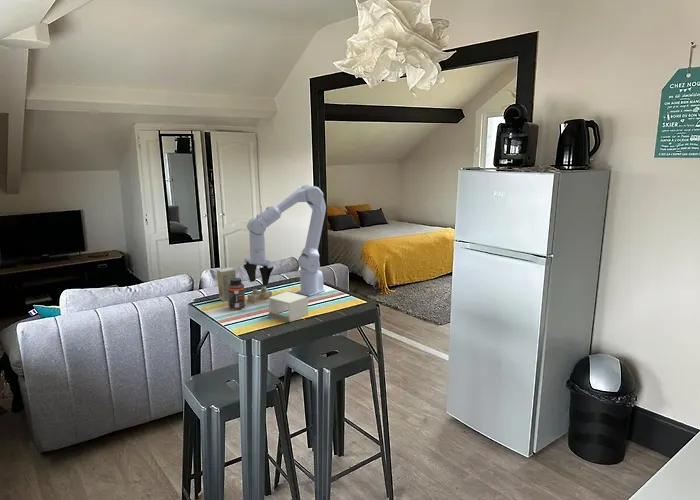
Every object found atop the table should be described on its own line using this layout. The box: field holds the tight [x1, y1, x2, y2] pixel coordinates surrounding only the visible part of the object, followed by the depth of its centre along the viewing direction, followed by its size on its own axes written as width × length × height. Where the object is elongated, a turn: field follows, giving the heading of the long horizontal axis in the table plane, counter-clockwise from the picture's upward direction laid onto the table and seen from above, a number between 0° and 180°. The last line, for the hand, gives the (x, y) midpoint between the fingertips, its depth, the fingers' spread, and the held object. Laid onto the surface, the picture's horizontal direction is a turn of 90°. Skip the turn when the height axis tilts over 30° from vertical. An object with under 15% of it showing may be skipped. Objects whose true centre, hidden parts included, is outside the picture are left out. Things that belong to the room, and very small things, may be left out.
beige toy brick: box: [246, 286, 273, 304], centre depth 191 cm, size 9×4×5 cm, turn 141°
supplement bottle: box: [228, 277, 246, 311], centre depth 180 cm, size 6×6×11 cm
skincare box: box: [216, 267, 237, 302], centre depth 191 cm, size 6×4×12 cm
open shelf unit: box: [268, 291, 309, 323], centre depth 172 cm, size 10×10×7 cm
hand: (259, 282), depth 190 cm, fingers open, 7 cm apart
